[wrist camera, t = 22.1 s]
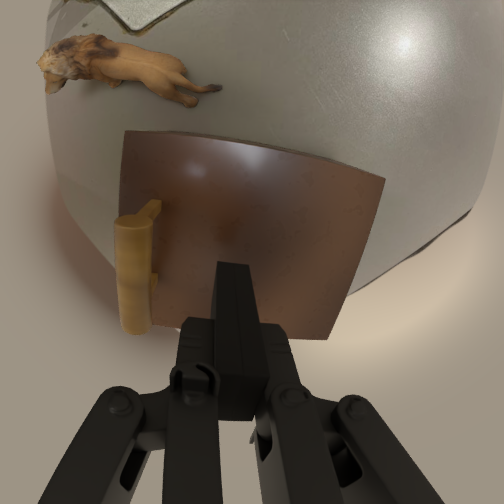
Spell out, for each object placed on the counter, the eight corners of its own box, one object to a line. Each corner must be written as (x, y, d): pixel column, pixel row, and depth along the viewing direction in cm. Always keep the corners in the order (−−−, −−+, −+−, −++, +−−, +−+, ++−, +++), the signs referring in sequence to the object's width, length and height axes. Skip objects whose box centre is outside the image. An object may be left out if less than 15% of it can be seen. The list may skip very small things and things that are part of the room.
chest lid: (126, 313, 19) (102, 370, 14) (129, 130, 14) (80, 133, 8) (324, 334, 22) (347, 388, 16) (380, 176, 16) (437, 200, 11)
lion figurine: (76, 98, 19) (21, 94, 11) (89, 50, 17) (40, 29, 9) (215, 113, 22) (208, 103, 14) (230, 61, 20) (232, 26, 12)
